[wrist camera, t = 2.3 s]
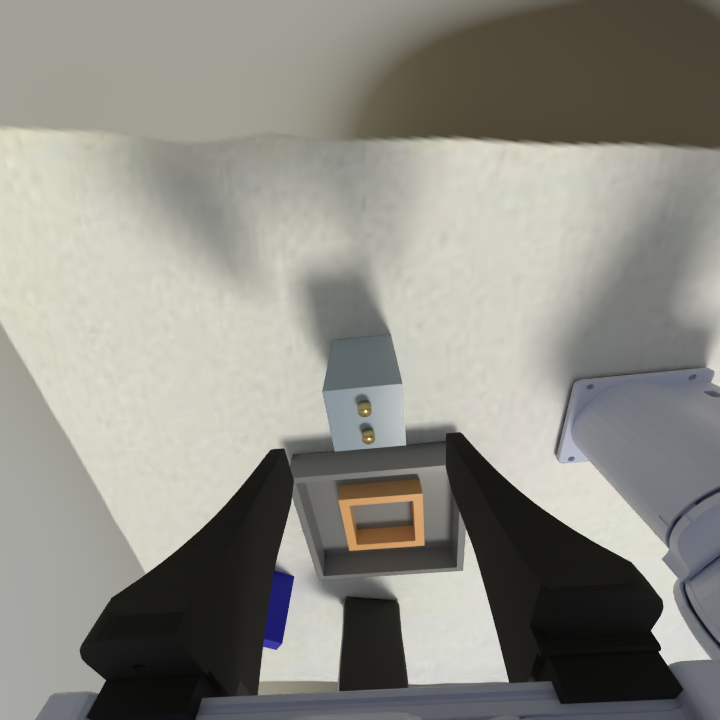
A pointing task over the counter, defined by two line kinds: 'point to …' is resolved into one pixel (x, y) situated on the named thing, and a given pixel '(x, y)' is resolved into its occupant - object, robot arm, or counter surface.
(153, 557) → the counter surface
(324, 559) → the box
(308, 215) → the counter surface
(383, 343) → the connector plug
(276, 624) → the cable clip
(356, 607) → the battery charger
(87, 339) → the counter surface
